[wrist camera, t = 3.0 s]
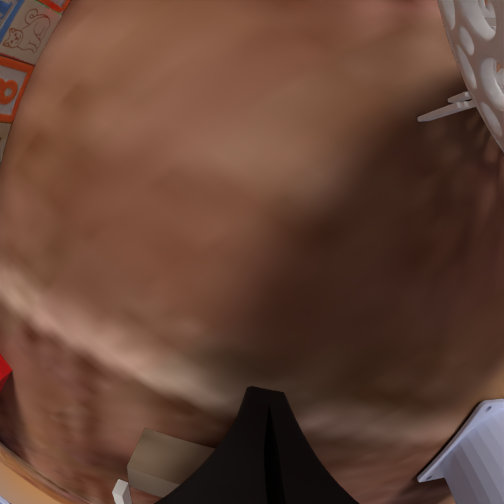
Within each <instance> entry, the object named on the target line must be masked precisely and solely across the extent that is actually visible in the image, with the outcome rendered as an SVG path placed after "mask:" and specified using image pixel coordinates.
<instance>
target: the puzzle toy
mask: <svg viewBox="0 0 504 504" xmlns="http://www.w3.org/2000/svg"><path fill="white" fill-rule="evenodd" d="M11 371H12V369H11V368H10V366H9V365H8V364H7V362H6V361H5V360H4V358H3V357H2V356H1V354H0V391H1V389H2V387H3V386H4V384H5V382H6V380H7V378H8V377H9V375H10V373H11Z"/></svg>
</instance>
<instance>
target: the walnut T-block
mask: <svg viewBox="0 0 504 504" xmlns="http://www.w3.org/2000/svg"><path fill="white" fill-rule="evenodd" d="M214 450H215V448H211V447H207V446H203V445H199V444H195V443H192V442H188V441H185V440H181V439H178V438H175V437H171V436H168V435H165V434H162V433H159V432H156V431H153V430H150V429H148V428H145V430H144V432H143V434H142V436H141V438H140V440H139V442H138V444H137V446H136V448H135V450H134V452H133V455H132V457H131V459H130V461H129V463H128V465H127V472H128V478H129V485H130V486H131V487H133V488H136V489H138V490H141V491H144V492H147V493H150V494H153V495H156V496H159V497H162V498H163V497H165V496H166V495H168V494H169V493H170V492H172V491H173V490H174V489H175V488H177V487H178V486H179V485H180V484H181V483H183V482H184V481H185V480H186V479H187V478H188V477H190V476H191V475H192V474H193V473H194V472H195V471H196V470H197V469H198V468H199V467H200V466H201V465H202V464H203V463H204V462H205V460H206V459H207V458H208V457H209V456H210V455H211V454H212V453H213V451H214Z"/></svg>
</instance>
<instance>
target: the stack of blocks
mask: <svg viewBox="0 0 504 504" xmlns="http://www.w3.org/2000/svg"><path fill="white" fill-rule="evenodd" d="M70 1H71V0H0V164H1V160H2V156H3V152H4V148H5V144H6V141H7V137H8V134H9V130H10V127H11V124H12V122H13V120H14V117H15V114H16V111H17V109H18V106H19V103H20V100H21V98H22V95H23V93H24V90H25V88H26V85H27V83H28V81H29V78H30V76H31V74H32V71H33V69H34V66H35V64H36V63H37V61H38V59H39V57H40V55H41V53H42V51H43V49H44V47H45V45H46V43H47V41H48V40H49V38H50V36H51V34H52V32H53V31H54V29H55V27H56V25H57V24H58V22H59V20H60V19H61V17H62V13H63V11H64V10H65V9H66V7H67V6H68V4H69V2H70Z"/></svg>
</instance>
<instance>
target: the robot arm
mask: <svg viewBox="0 0 504 504" xmlns="http://www.w3.org/2000/svg"><path fill="white" fill-rule="evenodd" d="M444 477H445V479H446V482H447V484H448V486H449V489H450V491H451V493H452V496H453V498H454V500H455V503H456V504H504V399H496V400H485V401H483V402H481V403H480V404H479V405H478V406H477V407H476V409H475V410H474V412H473V413H472V414H471V416H470V417H469V419H468V420H467V421H466V422H465V424H464V425H463V426H462V428H461V429H460V430H459V431H458V433H457V434H456V435H455V436H454V438H453V439H452V440H451V441H450V442H449V444H448V445H447V446H446V447H445V448H444V449H443V451H442V452H441V453H440V454H439V455H438V456H437V457H436V458H435V459H434V460H433V461H432V463H431V464H430V465H429V466H428V467H427V468H426V469H425V470H424V471H423V472H422V473H421V474H420V475H419V476H418V477H417V480H418V482H424V481H429V480H434V479H439V478H444ZM0 504H11V503H9V502H8V501H7V500H5V499H4V498H3V497H2V496H0ZM154 504H359V503H358V502H357V501H356V500H354V499H353V498H352V497H351V496H350V495H349V494H348V493H347V492H346V491H345V490H344V489H343V488H342V487H341V486H340V485H339V484H338V483H337V482H336V481H335V480H334V478H333V477H332V476H331V475H330V474H329V472H328V471H327V470H326V469H325V467H324V466H323V465H322V463H321V462H320V460H319V459H318V458H317V456H316V455H315V453H314V451H313V450H312V448H311V447H310V445H309V443H308V442H307V440H306V438H305V436H304V434H303V433H302V431H301V429H300V427H299V425H298V423H297V421H296V419H295V417H294V415H293V412H292V410H291V408H290V406H289V403H288V401H287V398H286V396H285V394H284V392H279V391H273V390H268V389H263V388H258V387H254V386H250V387H247V389H246V392H245V395H244V398H243V401H242V404H241V407H240V410H239V413H238V416H237V418H236V419H235V421H234V423H233V425H232V426H231V428H230V429H229V431H228V432H227V434H226V435H225V437H224V438H223V440H222V441H221V442H220V444H219V445H218V446H217V448H216V449H215V450H214V451H213V453H212V454H211V455H210V456H209V457H208V458H207V459H206V460H205V462H204V463H203V464H202V465H201V466H200V467H199V468H198V469H197V470H196V471H195V472H194V473H193V474H192V475H191V476H190V477H188V478H187V479H186V480H185V481H184V482H183V483H181V484H180V485H179V486H178V487H177V488H175V489H174V490H173V491H172V492H170V493H169V494H168V495H166V496H165V497H163V498H162V499H160V500H159V501H157V502H156V503H154Z"/></svg>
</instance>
